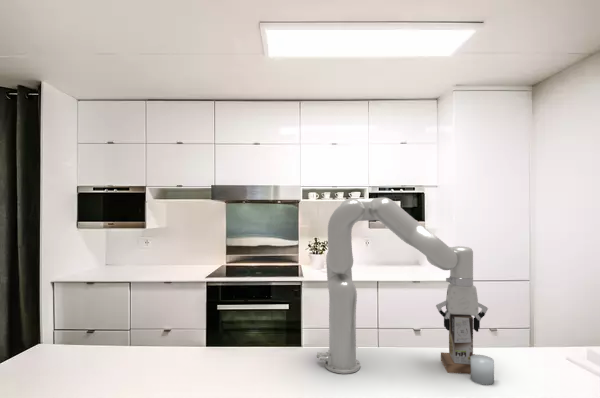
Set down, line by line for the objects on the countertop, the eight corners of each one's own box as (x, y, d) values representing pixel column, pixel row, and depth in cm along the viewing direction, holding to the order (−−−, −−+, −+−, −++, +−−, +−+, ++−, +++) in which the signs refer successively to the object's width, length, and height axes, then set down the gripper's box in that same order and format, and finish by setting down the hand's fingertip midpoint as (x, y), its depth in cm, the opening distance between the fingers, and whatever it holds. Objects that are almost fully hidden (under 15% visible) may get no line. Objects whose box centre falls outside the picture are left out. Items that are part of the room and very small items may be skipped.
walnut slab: (447, 372, 130) (447, 363, 130) (440, 360, 140) (440, 352, 140) (484, 374, 129) (484, 365, 129) (474, 362, 138) (474, 354, 139)
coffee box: (473, 365, 129) (473, 317, 129) (453, 363, 130) (453, 316, 131) (467, 354, 138) (466, 310, 138) (448, 353, 139) (448, 309, 139)
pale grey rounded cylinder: (474, 384, 122) (474, 362, 122) (467, 374, 129) (467, 354, 129) (497, 386, 121) (497, 364, 121) (489, 375, 128) (489, 355, 128)
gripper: (438, 283, 132) (438, 332, 132) (491, 284, 130) (491, 334, 130) (434, 278, 139) (434, 325, 139) (483, 280, 137) (483, 327, 137)
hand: (461, 329), depth 134 cm, fingers open, 9 cm apart
